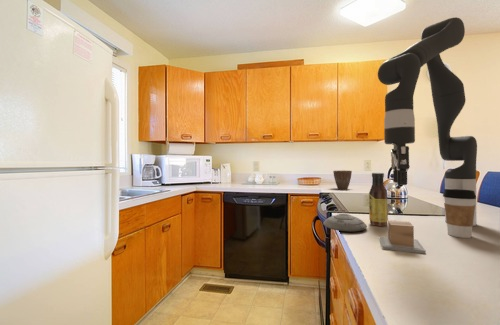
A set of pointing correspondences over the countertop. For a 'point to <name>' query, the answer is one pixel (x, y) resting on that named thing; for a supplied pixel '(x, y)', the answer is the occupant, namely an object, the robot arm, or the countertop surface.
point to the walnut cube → (401, 233)
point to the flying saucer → (344, 223)
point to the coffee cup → (459, 212)
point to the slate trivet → (402, 246)
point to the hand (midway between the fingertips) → (399, 183)
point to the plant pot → (342, 179)
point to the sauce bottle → (378, 201)
